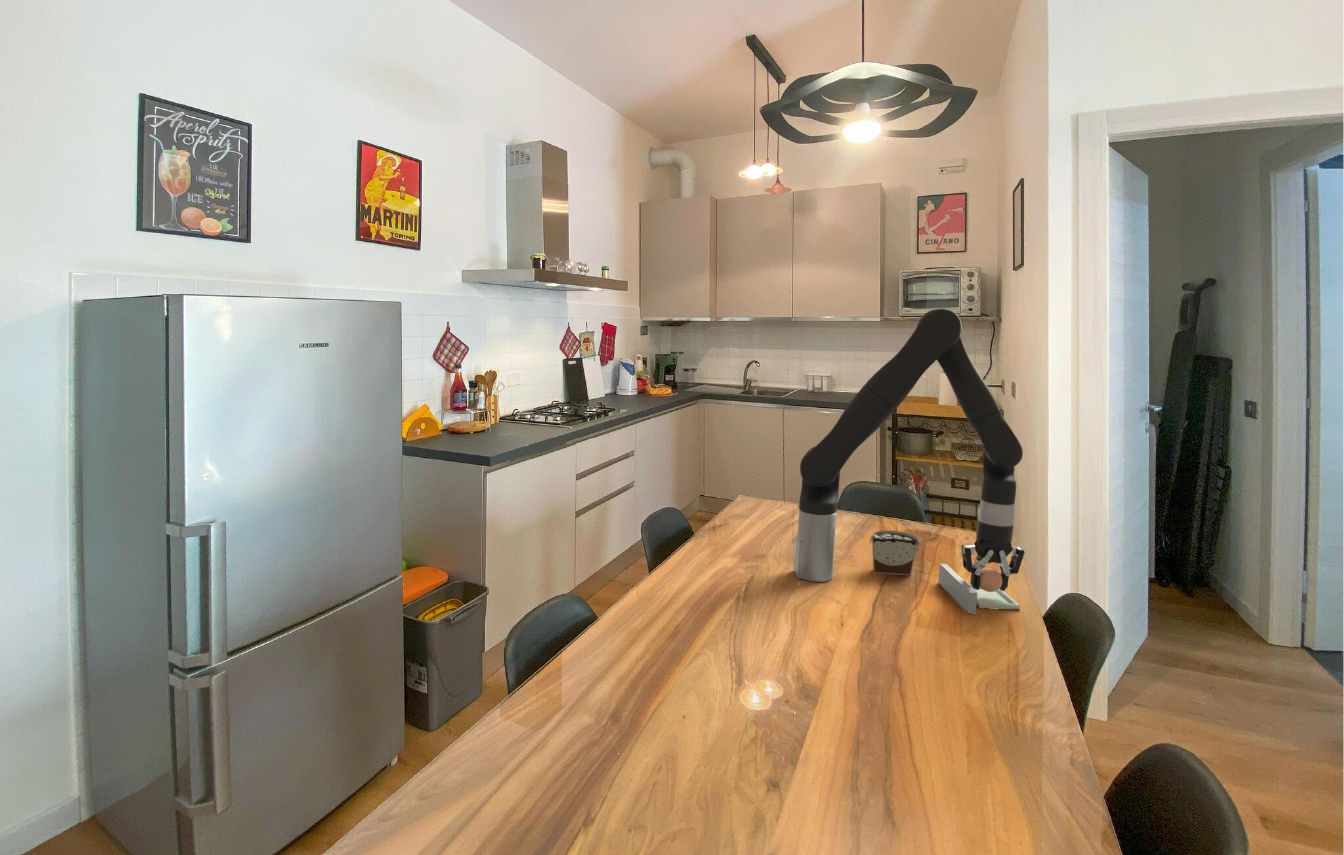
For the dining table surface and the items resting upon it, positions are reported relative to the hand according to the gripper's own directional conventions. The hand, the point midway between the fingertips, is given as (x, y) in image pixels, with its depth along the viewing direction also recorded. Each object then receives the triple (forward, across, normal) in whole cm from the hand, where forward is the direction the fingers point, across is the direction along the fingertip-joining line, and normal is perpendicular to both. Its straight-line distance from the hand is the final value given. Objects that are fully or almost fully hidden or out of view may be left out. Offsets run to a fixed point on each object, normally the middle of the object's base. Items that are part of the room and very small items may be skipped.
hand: (988, 588), depth 154 cm
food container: (+3, -18, +17) cm, 25 cm away
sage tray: (+2, 0, 0) cm, 2 cm away
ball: (+1, 0, 0) cm, 1 cm away
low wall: (+2, -8, 0) cm, 8 cm away
